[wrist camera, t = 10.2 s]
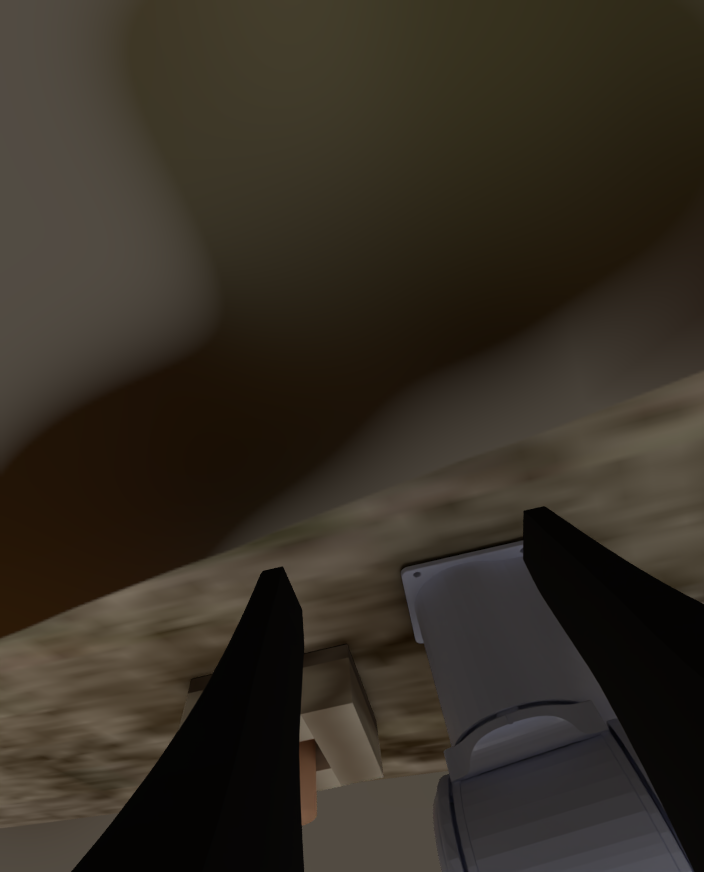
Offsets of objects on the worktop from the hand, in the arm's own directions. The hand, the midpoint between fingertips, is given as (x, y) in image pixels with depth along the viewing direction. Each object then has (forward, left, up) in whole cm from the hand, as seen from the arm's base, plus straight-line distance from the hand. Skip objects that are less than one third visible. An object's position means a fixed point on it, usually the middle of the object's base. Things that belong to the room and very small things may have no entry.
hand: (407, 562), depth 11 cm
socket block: (+11, +24, -9) cm, 28 cm away
